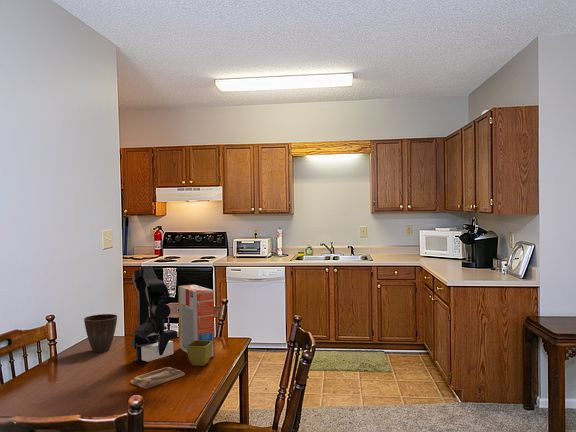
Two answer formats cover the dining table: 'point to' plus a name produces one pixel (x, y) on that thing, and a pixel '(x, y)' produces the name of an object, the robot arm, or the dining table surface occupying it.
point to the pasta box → (196, 315)
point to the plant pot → (100, 331)
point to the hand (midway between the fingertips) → (157, 354)
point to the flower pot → (199, 352)
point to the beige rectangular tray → (156, 377)
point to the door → (155, 351)
